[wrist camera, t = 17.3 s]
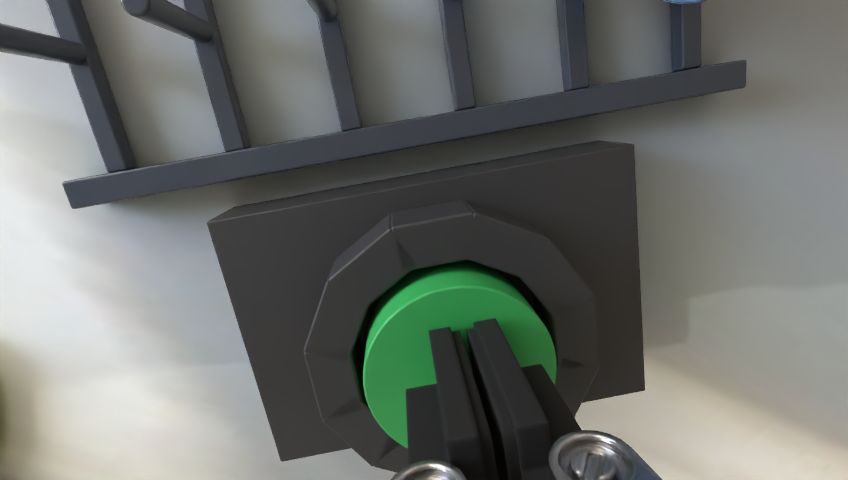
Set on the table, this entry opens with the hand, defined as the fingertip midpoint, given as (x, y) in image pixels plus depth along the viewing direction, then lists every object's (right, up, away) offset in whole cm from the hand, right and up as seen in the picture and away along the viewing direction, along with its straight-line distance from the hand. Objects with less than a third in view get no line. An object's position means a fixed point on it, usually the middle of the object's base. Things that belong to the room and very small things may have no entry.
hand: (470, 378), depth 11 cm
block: (-1, +2, +5) cm, 5 cm away
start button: (0, 0, +2) cm, 2 cm away
